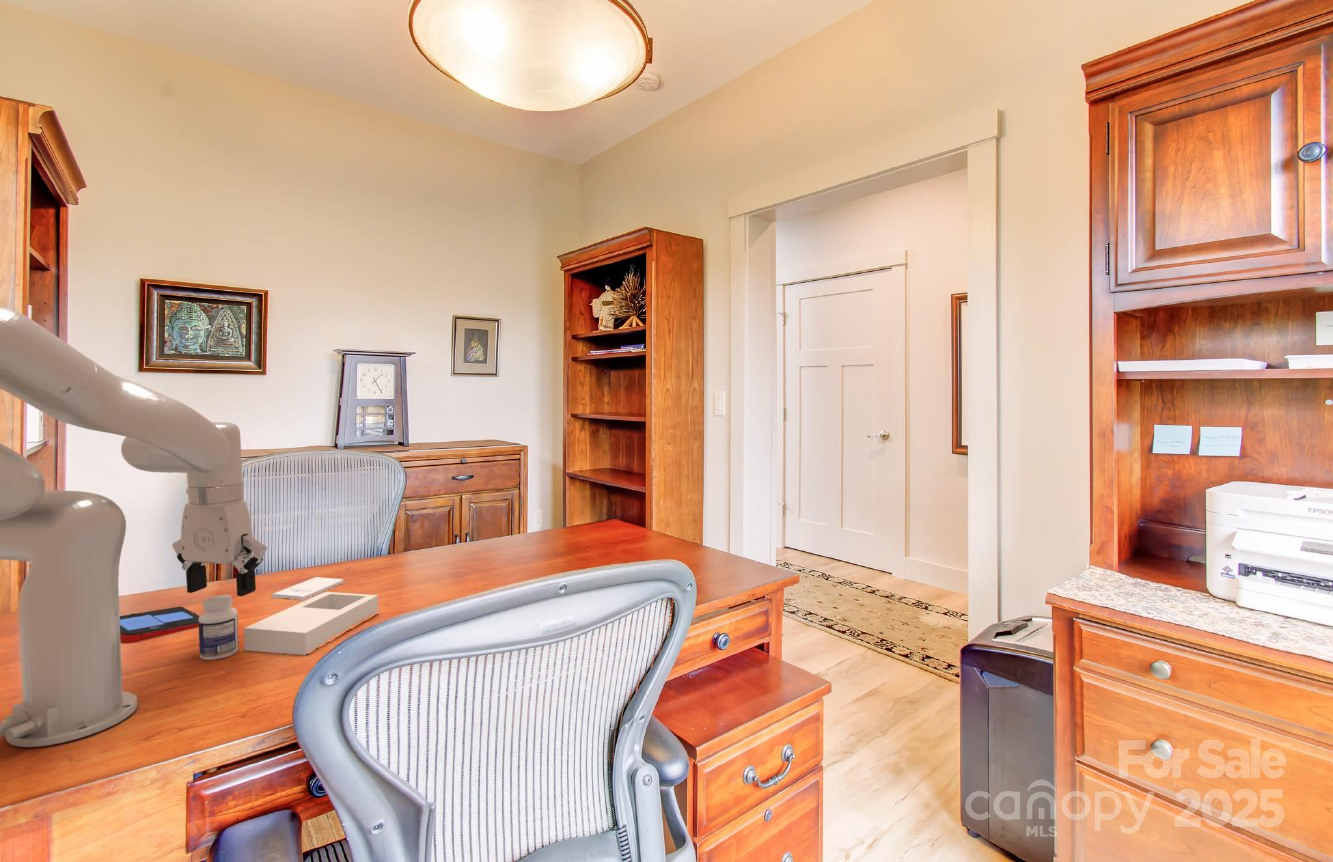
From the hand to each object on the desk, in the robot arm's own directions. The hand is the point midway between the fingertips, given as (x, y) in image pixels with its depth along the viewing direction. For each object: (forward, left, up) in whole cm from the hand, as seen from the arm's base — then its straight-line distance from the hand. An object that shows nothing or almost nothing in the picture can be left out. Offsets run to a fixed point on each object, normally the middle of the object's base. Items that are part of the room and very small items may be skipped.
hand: (221, 592), depth 103 cm
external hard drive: (+32, +10, -11) cm, 36 cm away
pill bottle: (-1, 0, -11) cm, 11 cm away
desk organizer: (+11, -9, -11) cm, 18 cm away
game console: (+8, +23, -11) cm, 27 cm away
